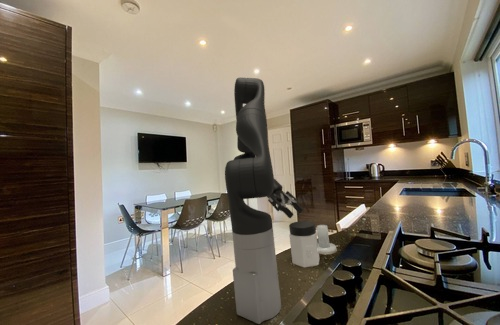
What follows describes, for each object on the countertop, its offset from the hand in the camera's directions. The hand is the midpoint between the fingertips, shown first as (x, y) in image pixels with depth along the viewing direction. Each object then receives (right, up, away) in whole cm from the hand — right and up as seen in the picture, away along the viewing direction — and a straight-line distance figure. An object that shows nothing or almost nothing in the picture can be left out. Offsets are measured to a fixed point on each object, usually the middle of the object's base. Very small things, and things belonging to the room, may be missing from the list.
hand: (297, 214), depth 79 cm
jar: (0, -12, -14) cm, 18 cm away
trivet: (+8, -11, -6) cm, 16 cm away
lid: (+8, -11, -6) cm, 15 cm away
